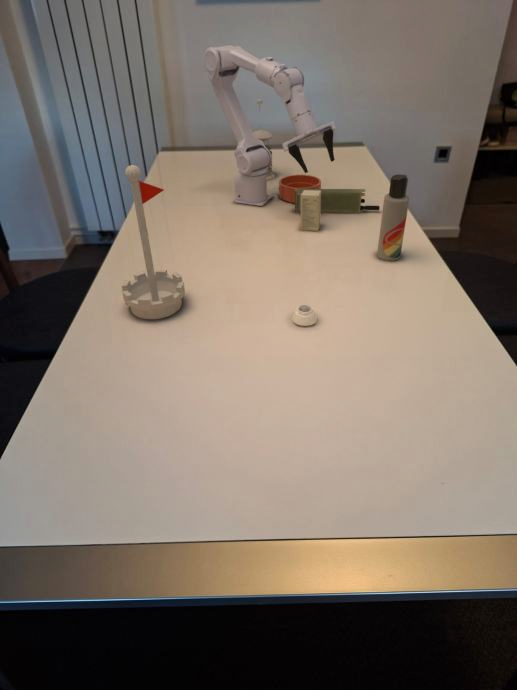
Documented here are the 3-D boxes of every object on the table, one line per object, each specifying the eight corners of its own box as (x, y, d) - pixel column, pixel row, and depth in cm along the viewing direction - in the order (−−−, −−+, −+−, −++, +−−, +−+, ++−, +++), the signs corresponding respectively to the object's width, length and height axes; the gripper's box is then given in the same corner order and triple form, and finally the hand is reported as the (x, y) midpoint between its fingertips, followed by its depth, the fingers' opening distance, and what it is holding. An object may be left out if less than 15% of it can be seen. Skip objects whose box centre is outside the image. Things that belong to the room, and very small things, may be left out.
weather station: (244, 179, 174) (240, 101, 159) (253, 169, 183) (251, 94, 168) (270, 181, 172) (270, 102, 157) (279, 171, 181) (279, 95, 166)
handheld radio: (295, 208, 151) (378, 209, 148) (294, 213, 148) (379, 214, 146) (295, 187, 147) (381, 187, 144) (294, 191, 144) (382, 192, 142)
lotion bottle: (400, 262, 121) (413, 180, 109) (376, 260, 122) (387, 179, 110) (399, 251, 126) (412, 172, 114) (377, 250, 127) (386, 171, 115)
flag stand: (128, 326, 102) (95, 180, 84) (124, 295, 112) (94, 159, 94) (190, 316, 104) (172, 172, 86) (181, 286, 114) (163, 152, 96)
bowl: (272, 201, 156) (272, 185, 153) (287, 187, 166) (287, 172, 163) (312, 206, 152) (313, 190, 149) (325, 192, 162) (326, 177, 159)
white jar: (310, 311, 104) (288, 317, 103) (310, 299, 102) (288, 304, 101) (320, 324, 100) (298, 329, 99) (321, 311, 99) (298, 317, 97)
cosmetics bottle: (320, 225, 140) (322, 190, 134) (317, 231, 137) (319, 195, 131) (302, 223, 141) (303, 189, 135) (299, 230, 138) (300, 194, 132)
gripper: (276, 124, 127) (295, 176, 130) (329, 101, 126) (347, 153, 129) (275, 130, 134) (293, 178, 137) (325, 107, 133) (343, 157, 136)
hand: (319, 166), depth 133 cm, fingers open, 7 cm apart
